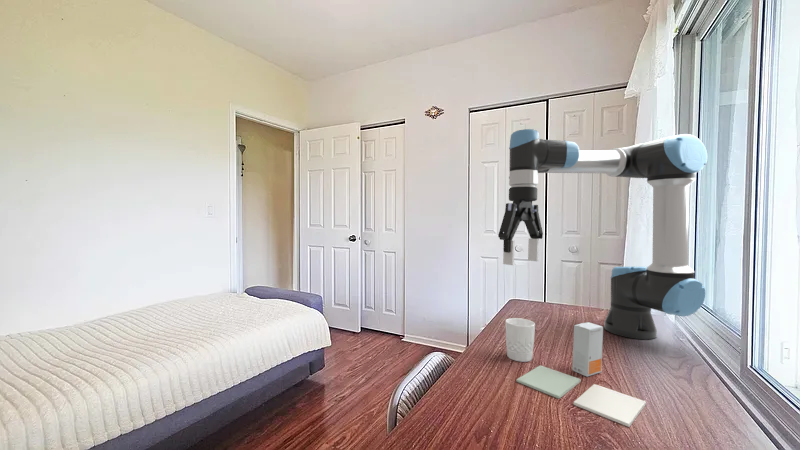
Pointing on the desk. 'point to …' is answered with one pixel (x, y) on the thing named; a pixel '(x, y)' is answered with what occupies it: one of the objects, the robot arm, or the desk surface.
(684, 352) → the desk surface
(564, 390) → the shorter pad
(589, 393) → the taller pad
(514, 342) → the white cup
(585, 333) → the skincare box
